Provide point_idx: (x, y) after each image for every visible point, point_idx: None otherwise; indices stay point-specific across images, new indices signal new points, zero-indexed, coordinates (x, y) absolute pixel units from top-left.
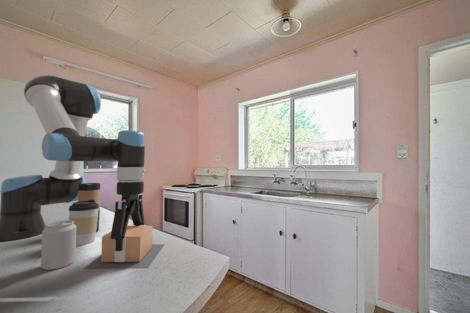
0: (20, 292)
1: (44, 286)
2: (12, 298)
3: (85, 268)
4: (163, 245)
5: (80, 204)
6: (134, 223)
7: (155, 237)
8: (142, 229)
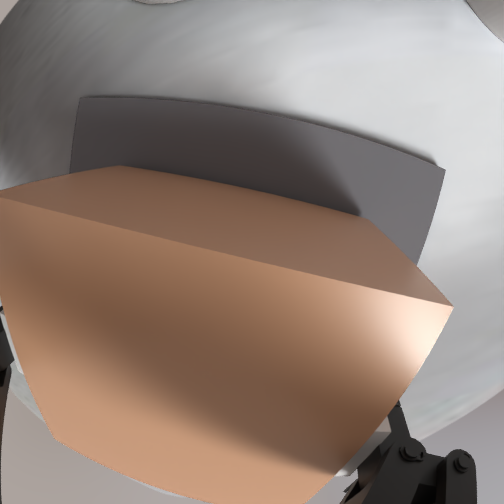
0: (26, 8)
1: (29, 43)
2: (10, 19)
3: (83, 109)
4: None
5: None
6: (377, 467)
7: (472, 377)
8: (197, 484)
